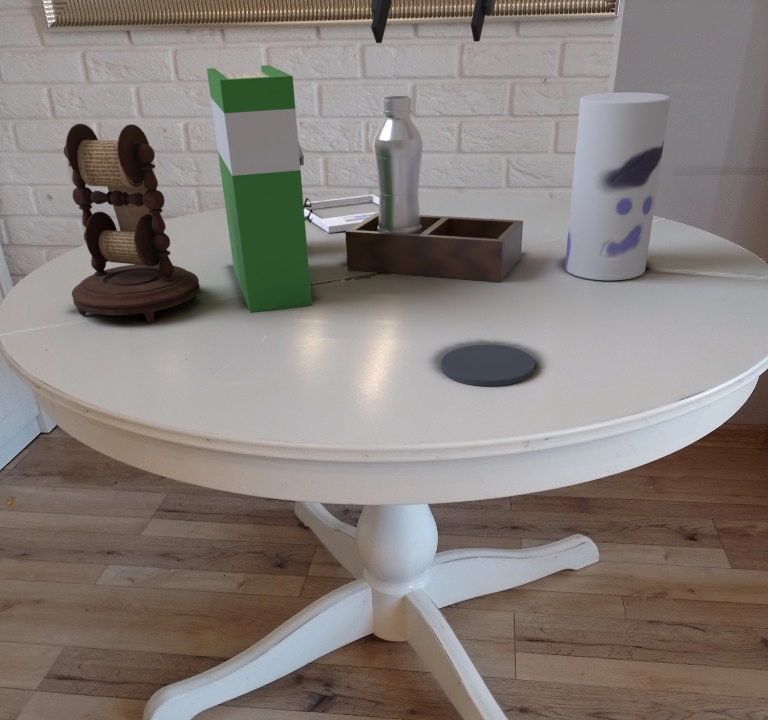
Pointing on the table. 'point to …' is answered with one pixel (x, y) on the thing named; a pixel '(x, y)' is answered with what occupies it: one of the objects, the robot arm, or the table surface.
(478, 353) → the coaster
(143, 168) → the scroll
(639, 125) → the container
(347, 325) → the table surface
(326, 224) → the photo frame
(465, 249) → the wooden compartment box
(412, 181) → the silver bottle
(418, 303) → the table surface
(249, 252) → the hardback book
